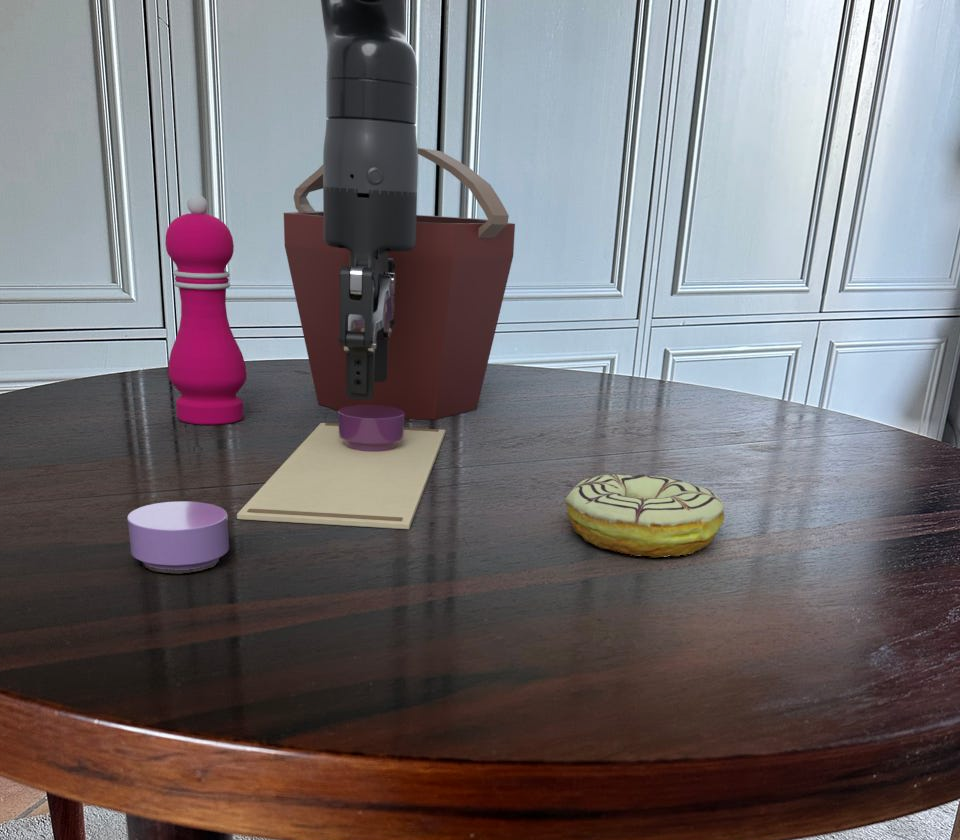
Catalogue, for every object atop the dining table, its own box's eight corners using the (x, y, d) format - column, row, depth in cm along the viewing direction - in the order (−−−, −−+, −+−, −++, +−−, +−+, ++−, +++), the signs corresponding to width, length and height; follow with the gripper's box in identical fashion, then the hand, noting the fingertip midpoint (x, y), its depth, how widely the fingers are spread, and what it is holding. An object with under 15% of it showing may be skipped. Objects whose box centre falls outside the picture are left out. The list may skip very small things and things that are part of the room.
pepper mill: (260, 422, 99) (250, 197, 91) (187, 429, 95) (170, 194, 87) (231, 408, 104) (220, 194, 96) (161, 413, 100) (143, 191, 92)
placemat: (237, 519, 71) (236, 512, 71) (320, 426, 98) (320, 421, 98) (409, 529, 71) (409, 522, 70) (445, 433, 98) (445, 428, 98)
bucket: (252, 392, 112) (240, 138, 102) (409, 376, 126) (413, 151, 116) (388, 436, 96) (391, 140, 86) (552, 412, 110) (572, 154, 100)
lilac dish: (117, 575, 60) (111, 526, 59) (151, 544, 65) (146, 498, 64) (214, 581, 60) (211, 532, 59) (240, 549, 65) (238, 504, 64)
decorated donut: (649, 509, 78) (654, 460, 76) (750, 551, 69) (759, 497, 68) (535, 525, 73) (539, 473, 71) (630, 573, 64) (637, 515, 63)
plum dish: (333, 451, 88) (332, 416, 87) (344, 436, 93) (344, 403, 92) (400, 455, 88) (400, 420, 87) (407, 439, 93) (408, 406, 92)
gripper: (339, 183, 89) (339, 373, 95) (305, 181, 76) (307, 402, 82) (425, 188, 89) (419, 378, 95) (406, 187, 76) (400, 408, 82)
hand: (367, 389), depth 89 cm, fingers open, 8 cm apart
